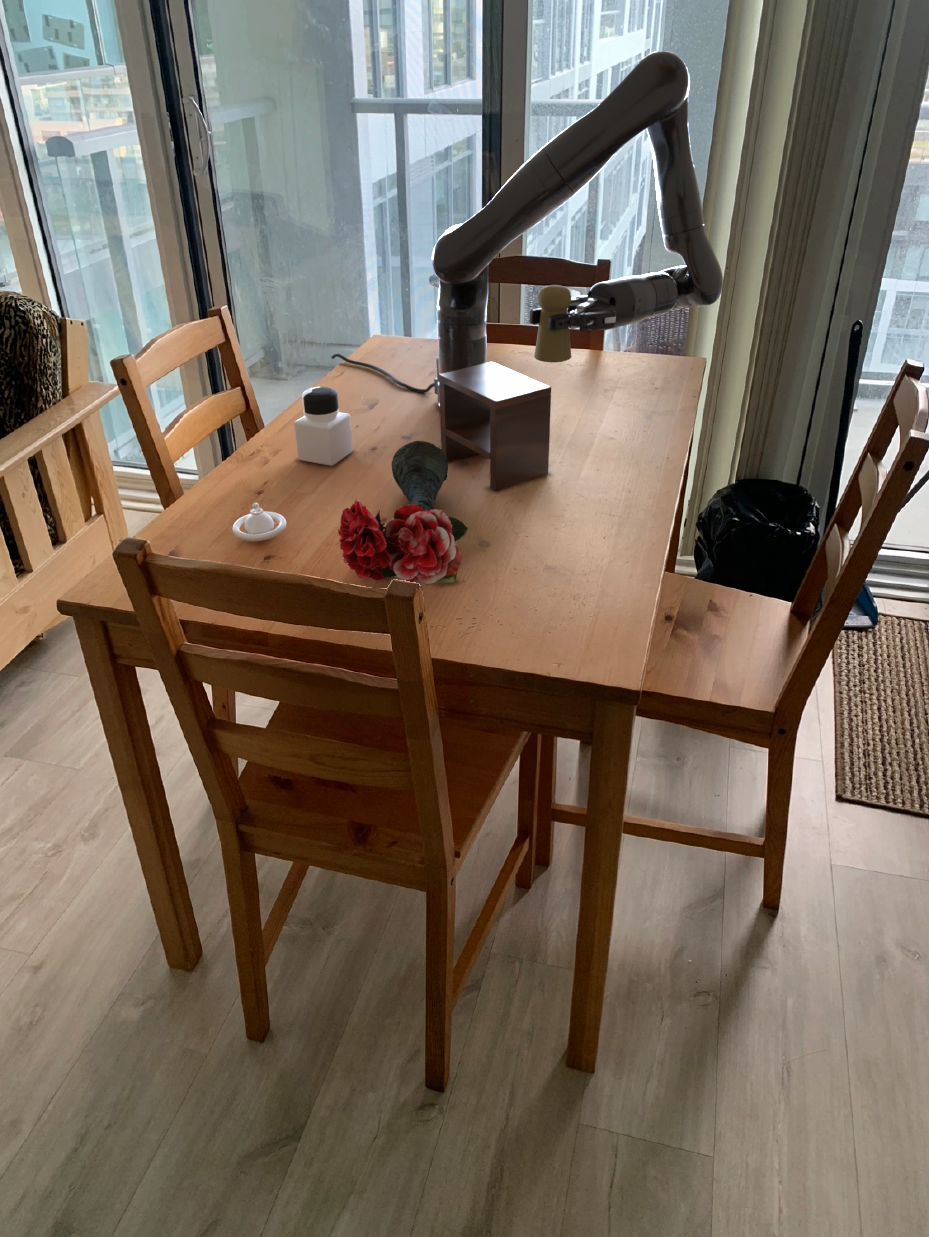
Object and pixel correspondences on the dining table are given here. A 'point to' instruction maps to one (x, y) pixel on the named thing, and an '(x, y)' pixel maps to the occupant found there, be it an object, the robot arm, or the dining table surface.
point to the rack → (496, 421)
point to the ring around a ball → (259, 525)
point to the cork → (548, 342)
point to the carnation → (406, 525)
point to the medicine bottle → (322, 428)
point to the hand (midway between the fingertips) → (540, 321)
